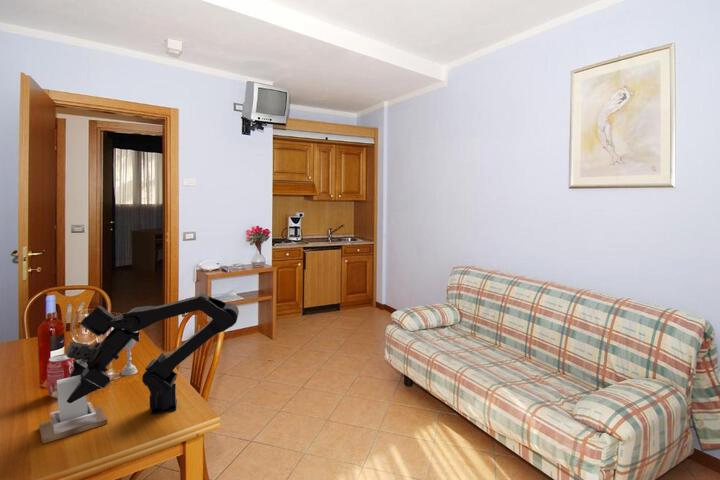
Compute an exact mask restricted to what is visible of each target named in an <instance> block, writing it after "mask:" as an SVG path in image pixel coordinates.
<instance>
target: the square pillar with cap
mask: <svg viewBox="0 0 720 480" xmlns="http://www.w3.org/2000/svg"><path fill="white" fill-rule="evenodd" d="M79 383H80V375H78V376H74V377H69V378H65V379H61V380H57V391H55V392H53V394H52V395H53V396H54V397H56V396H58V398H57V407H58V410H57V411H59V417H58V418H59V423H60V422H64V421H67V420H70V419H74V418H77V417H81V416H84V415H88V411H87V403H88V398H87V397H88V396H87V395H88V394H87V395H85V396H83V397H82V398H80V399H78V400H76V401H74V402H72V403H68V402H67V399H68V398H69V397H70V395H71V394H72V392H73V391H74V390H75V388H76V387H77V385H78V384H79Z"/></svg>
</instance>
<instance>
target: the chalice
mask: <svg viewBox="0 0 720 480" xmlns="http://www.w3.org/2000/svg"><path fill="white" fill-rule="evenodd" d="M136 332H139V331H136ZM136 332H135V333H136ZM136 343H137V341H135V340H134V339H132V340H131V341H130V342H129V343H128V344H127V345H126V346H125V348H124V349H123V350H126V356H127V358H126V359H125V360H126V361H127V364H126V365H124V367H123V370H122V371H121V373H120V374H121V375H122V376H132V375H134V374H136V373H138V369H137V367H136V365H135V364H133V363H132V362H131V361H132V359H133V358H132V356H131V355H132V352H131V350H132V349H133V348H134V346H135V345H136Z"/></svg>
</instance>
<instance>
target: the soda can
mask: <svg viewBox="0 0 720 480" xmlns="http://www.w3.org/2000/svg"><path fill="white" fill-rule="evenodd" d="M73 359H74V358H68V357H67V354H66V353H63V354H58V355H54V356H52V357H50V358H49V359H48V362H47V364H46V378H47V379H46V380H47V381H46V382H47V391H48V395H49V397H50V398H52V399H53V398H54V399H58V396H56V397H54V396H53V395H52V394H53V392H55V391H57V380H61V379H65V378H68V377H69V375H70V373H71V372H72V370H73Z"/></svg>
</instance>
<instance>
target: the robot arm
mask: <svg viewBox="0 0 720 480" xmlns="http://www.w3.org/2000/svg"><path fill="white" fill-rule="evenodd" d="M196 311H201V312H203V313H204V314H205V315H206V316H208V317H209V318H210V320H209V321H208V322H207V323H206V324H205V325H203V326H202V327H201V328H200V329H199V330H198V331H196V332H194V334H193V335H191V336H190V337H189V338H188V339H187V340H185V341H183V342H182V343H181V345H179V346H178V347H177V348H175V349H174V350H173V351H172V352H170V353H168V354H164V352H161V353H160V354H159V355H157V357H155V358H153V359H151V361H150V362H149V363H148V364H147V366H146V367H145V368H144V370H145V372H144V373H143V375H142V376H141V377H142V383H143V385H144V386H146V387H147V389H148V391H149V398H148V399H149V410H150V414H151V415H155V414H163V413H169V412H173V411H176V410H177V402H178V399H177V383H175V382H176V380H177V378H178V374H177V372H175V371H174V370H175V369H176V368H177V367H178V365H179V364H181V363H182V362H183V361H184V360H186V359H187V358H188V357H189V356H191V355H192V354H193V353H195V351H197V350H199V348H200V347H202V346H203V345H204V344H205V343H207V342H208V341H209V340H210V339H211V338H213V337H214V336H215V335H217V334H221V333H222V332H225V331H227V330H228V329H230V328H232V327H233V326H235V324H236V323H237V321H238V318H239V313H240V311H239V307H238V306H237V305H235V304H233V303H228V302H225V301H223V300H221V299H218V298H214V297H212V296H210V295H208V294H206V293H200V294H198V295H195V296H192V297H191V296H190V297H189V298H188V297H187V298H185V299H181V300H176V301H173V302H169V303H165V304H161V305H146V306H145V305H143V306H136V307H134V308H132V309H131V310H129V311H128V312H124V313H120V314H118V315H117V316H115V315H114V314H112V312H109V310H107V309H106V308H104V307H103V306H102V305H98V306H96V307H95V309H94V310H93V311H91V312H90V313H89V314H88V315H86V316H84V318H83V319H82V320H81V322H79V325H80V326H82V327H83V328H84V329H86V330H88V331H89V332H90V333H92V334H93V335H95V336H97V337H100V336H102V335H103V336H105V335H106V336H105V337H104V339H103V340H102V341H101V342H100V341H97V342H95V343H94V344H93V345H91V344H88V343H83V342H77V341H70V343H69V345H68V346H67V349H66V352H65V354H67V357H68V358H73V370H72V372H71V373H70V375H69V377H74V376H78V375H80V383H79V384H78V385H77V387H76V388H75V390H74V391H73V392H72V394H71V395H70V397H69V398H68V399H67V402H68V403H72V402H74V401H76V400H78V399H80V398H82V397H83V396H85V395H89V394H91V393H94V392H95V391H97V390H101V389H105V388H106V387H107V386H108V385H109V384H110V383H111V378H110V376H109V374H108V373H107V371H108V366H110V365H111V363H112V362H113V361H114V360H116V361H117V360H118V359H119V358H120V356H119V354H120V353H121V352H122V351H123V350H125V349H124V348H125V346H126V345H127V344H128V343H129V342H130V341H131V340H132V339H134V340H135V341H136V343H138V342H140V341H141V339H140V334H141V332H140V331H141V330H142V329H145V328H147V327H150V326H151V325H153V324H155V323H157V322H159V321H163V320H166V319H167V320H168V319H171V318H174V317H178V316H181V315H185V314H189V313H193V312H196ZM112 328H113V329H112ZM110 330H111V331H110ZM109 331H110V332H109ZM136 331H138V332H136ZM108 332H109V333H108ZM135 332H136V333H135ZM69 377H68V378H69Z"/></svg>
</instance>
